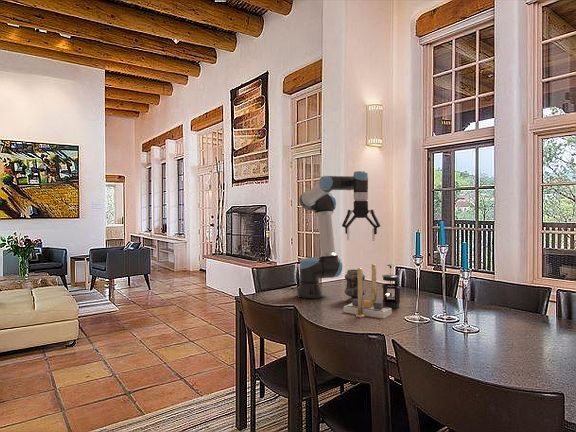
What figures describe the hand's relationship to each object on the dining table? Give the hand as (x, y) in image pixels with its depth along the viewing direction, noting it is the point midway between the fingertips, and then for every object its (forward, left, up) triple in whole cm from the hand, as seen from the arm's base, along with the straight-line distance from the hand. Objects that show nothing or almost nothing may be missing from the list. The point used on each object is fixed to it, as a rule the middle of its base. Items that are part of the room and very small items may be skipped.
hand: (360, 240), depth 223 cm
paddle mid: (+7, -7, -34) cm, 35 cm away
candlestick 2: (+7, +1, -37) cm, 37 cm away
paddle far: (+13, -7, -34) cm, 37 cm away
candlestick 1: (+7, -15, -37) cm, 40 cm away
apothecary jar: (-11, +14, -37) cm, 41 cm away
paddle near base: (+1, -7, -34) cm, 34 cm away
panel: (+7, -7, -37) cm, 38 cm away
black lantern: (+12, +12, -37) cm, 41 cm away
